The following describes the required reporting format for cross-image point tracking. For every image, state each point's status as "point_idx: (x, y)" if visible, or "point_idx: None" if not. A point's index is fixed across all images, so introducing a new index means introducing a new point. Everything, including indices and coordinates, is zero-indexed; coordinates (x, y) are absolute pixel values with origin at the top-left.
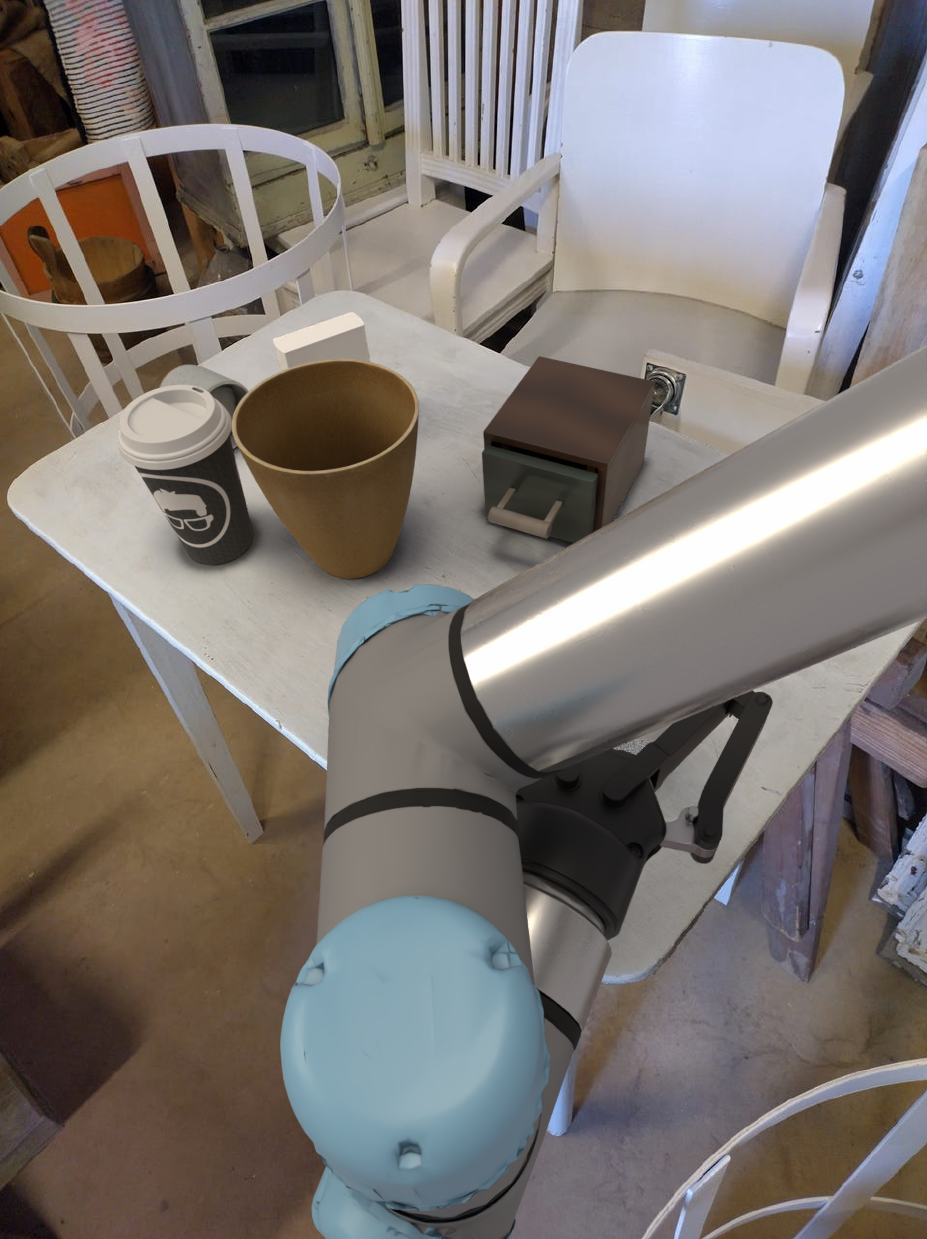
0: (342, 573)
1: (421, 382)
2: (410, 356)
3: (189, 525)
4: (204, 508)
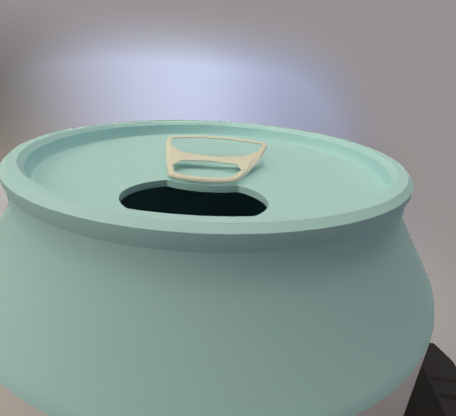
0: None
1: (4, 210)
2: (2, 198)
3: None
4: None
